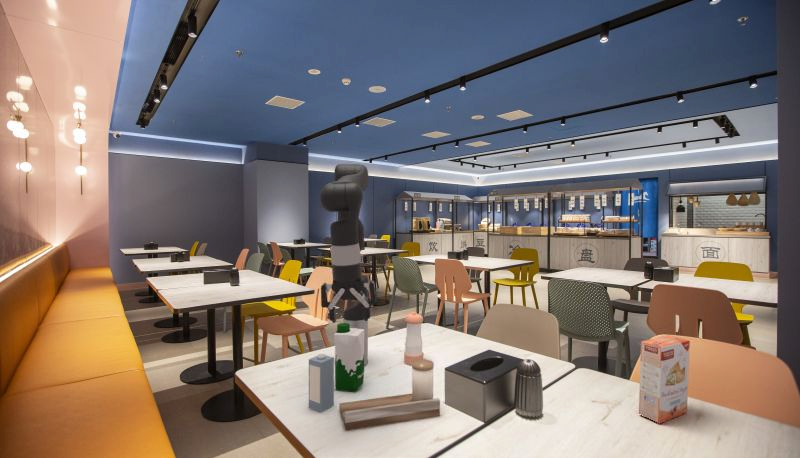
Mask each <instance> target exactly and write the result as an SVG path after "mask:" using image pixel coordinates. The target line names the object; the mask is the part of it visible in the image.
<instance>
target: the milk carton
mask: <svg viewBox="0 0 800 458" xmlns="http://www.w3.org/2000/svg"><path fill="white" fill-rule="evenodd" d="M333 337H334V339H333V340H334V391H342V392H353V393H357V392H358V391H359V390H360V388H361V387H362V385H363V384H364V376H365V366H364V329H357V328H350V324H348V323H343V322H342V323H338V324H337V325H336V331H335V333H334V334H333Z"/></svg>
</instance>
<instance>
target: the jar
mask: <svg viewBox="0 0 800 458" xmlns="http://www.w3.org/2000/svg"><path fill="white" fill-rule="evenodd" d="M434 365H435V363H434V361H433V360H430V359H426V358H425V359H424V358H423V359H418V360H414V361H413V362H412V365H411V369H412V370H411V374H412V375H411V376H412V378H411V379H412V380H411V383H412V385H411V394H412V402H415V401H422V400H429V399H434Z"/></svg>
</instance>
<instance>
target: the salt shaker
mask: <svg viewBox="0 0 800 458" xmlns="http://www.w3.org/2000/svg"><path fill="white" fill-rule="evenodd" d="M423 321H424V317H423V316H422V315H421V314H419V313H417V312H416V311H412V312H411V313H408V314H405V316H404V322H405V323H406V335H405V343H404V354H403V358H404V359H403V363H404V364H405V365H408V366H412V362H413V361H414V360H418V359H424V352H423V338H422V323H423Z"/></svg>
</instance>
